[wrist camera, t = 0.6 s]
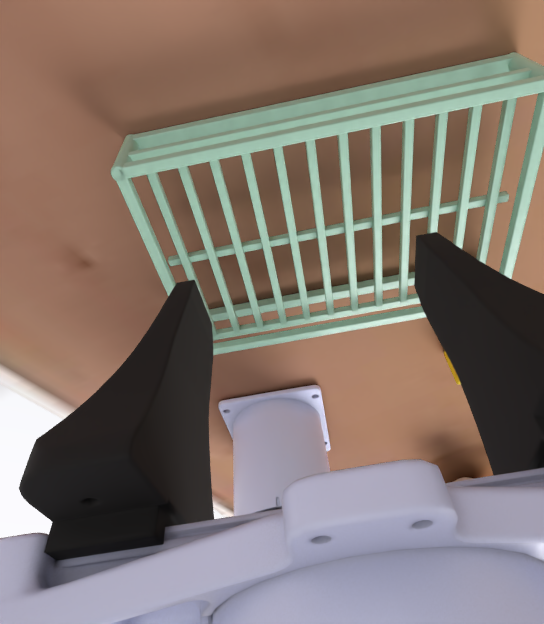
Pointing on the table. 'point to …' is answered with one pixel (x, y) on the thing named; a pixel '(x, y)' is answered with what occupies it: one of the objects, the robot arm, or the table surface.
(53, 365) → the table surface
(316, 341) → the table surface
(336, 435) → the table surface
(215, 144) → the rack
